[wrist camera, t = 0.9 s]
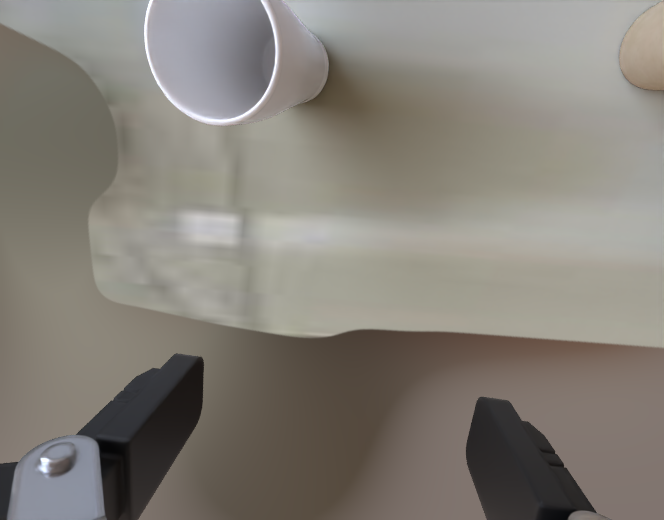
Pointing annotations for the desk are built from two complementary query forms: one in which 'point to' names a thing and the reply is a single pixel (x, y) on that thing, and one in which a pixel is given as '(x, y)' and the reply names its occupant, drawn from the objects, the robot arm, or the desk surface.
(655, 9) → the candle
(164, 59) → the drinking glass
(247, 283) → the desk surface
